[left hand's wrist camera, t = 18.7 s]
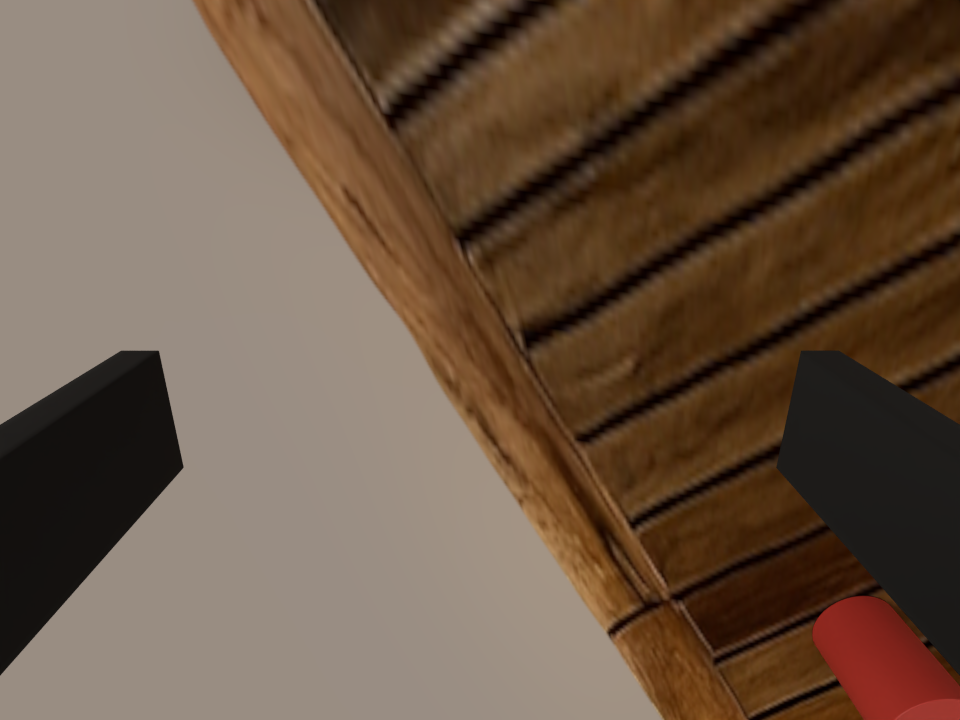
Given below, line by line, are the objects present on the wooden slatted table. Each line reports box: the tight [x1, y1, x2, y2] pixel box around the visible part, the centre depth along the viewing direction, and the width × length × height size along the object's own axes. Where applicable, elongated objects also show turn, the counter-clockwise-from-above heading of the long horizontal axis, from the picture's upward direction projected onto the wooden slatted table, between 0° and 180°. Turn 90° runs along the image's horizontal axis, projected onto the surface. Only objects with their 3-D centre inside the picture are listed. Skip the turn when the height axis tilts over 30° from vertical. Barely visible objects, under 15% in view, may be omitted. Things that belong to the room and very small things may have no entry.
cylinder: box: [812, 596, 960, 720], centre depth 46 cm, size 7×7×10 cm
